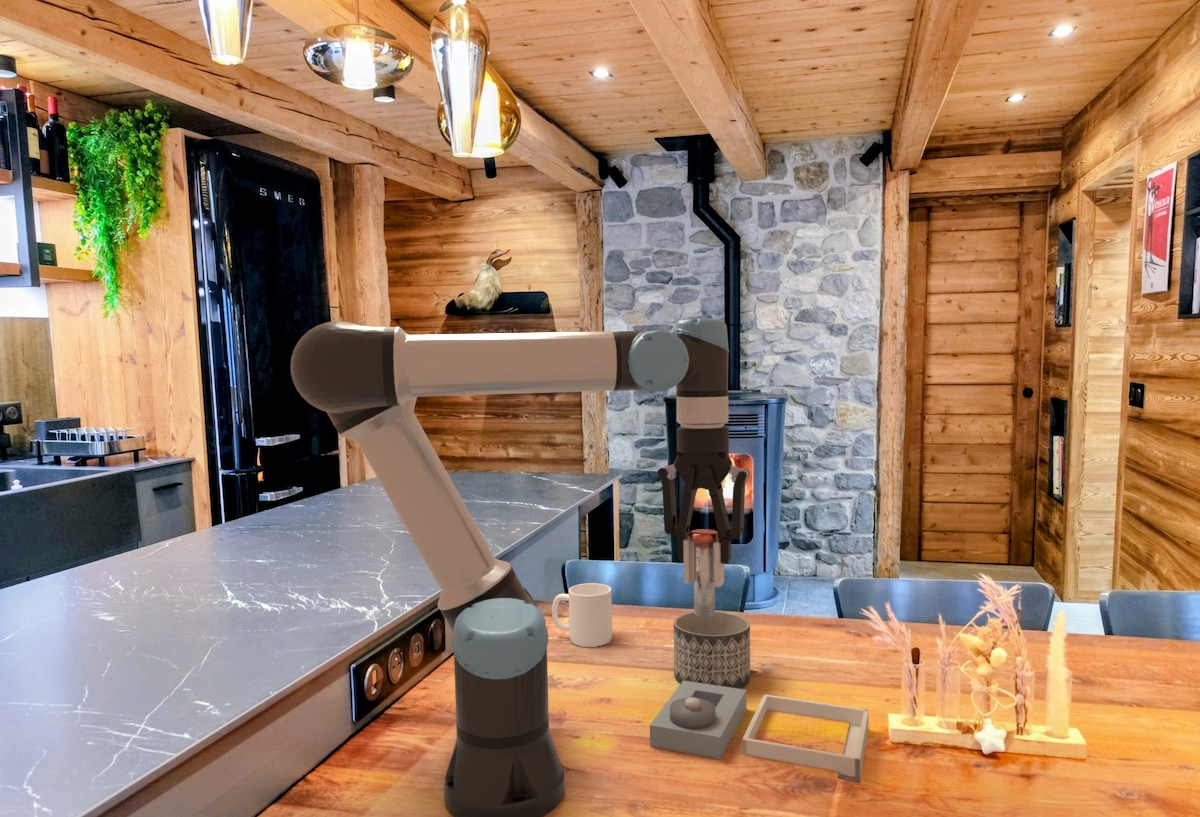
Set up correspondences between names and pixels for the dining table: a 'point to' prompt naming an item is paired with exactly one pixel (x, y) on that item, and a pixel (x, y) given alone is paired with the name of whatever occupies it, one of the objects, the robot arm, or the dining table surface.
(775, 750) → the tray
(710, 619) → the planter
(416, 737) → the dining table surface
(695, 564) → the lock pin
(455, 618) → the robot arm
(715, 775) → the dining table surface
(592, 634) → the cup
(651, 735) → the block
